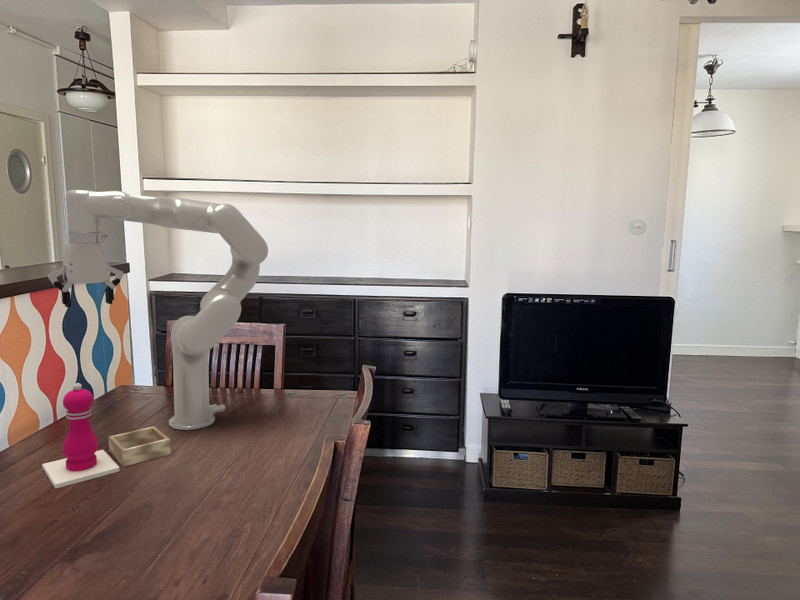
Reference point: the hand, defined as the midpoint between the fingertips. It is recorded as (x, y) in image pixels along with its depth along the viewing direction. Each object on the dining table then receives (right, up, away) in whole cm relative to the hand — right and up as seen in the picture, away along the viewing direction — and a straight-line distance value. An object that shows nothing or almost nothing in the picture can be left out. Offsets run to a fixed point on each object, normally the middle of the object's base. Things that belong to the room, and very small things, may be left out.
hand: (89, 305), depth 140 cm
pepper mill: (+6, -38, -13) cm, 41 cm away
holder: (+15, -38, -3) cm, 41 cm away
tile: (+6, -39, -13) cm, 41 cm away
